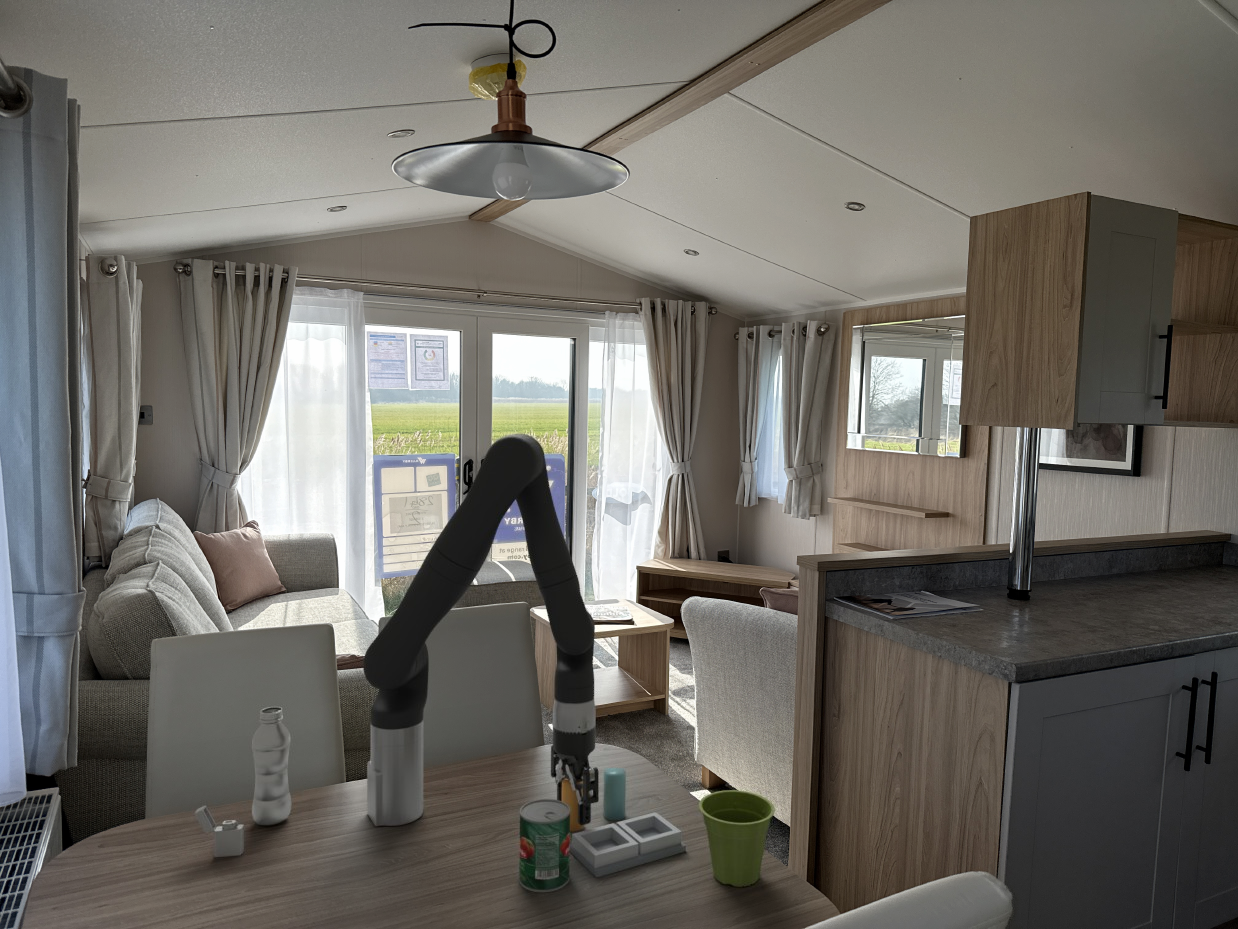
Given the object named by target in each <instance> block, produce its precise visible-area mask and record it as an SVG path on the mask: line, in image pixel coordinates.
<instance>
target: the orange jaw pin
mask: <svg viewBox="0 0 1238 929" xmlns="http://www.w3.org/2000/svg"><path fill="white" fill-rule="evenodd" d="M577 784H579V785H580V784H583V781H582V782H578V783H577ZM581 793H582V796H583V789H582V790H581ZM562 802H564V803H566V804H567V805H568V806H569V807H570V832H580V831H581V830H583V829H584V828H585V825H580V824H579V823H578V799H577V795H576V792H575V791H573V790H572V786H571V782H570V780H569V779H566V778H565V779H563V780H562Z"/></svg>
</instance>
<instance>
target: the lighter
mask: <svg viewBox="0 0 1238 929" xmlns="http://www.w3.org/2000/svg"><path fill="white" fill-rule="evenodd" d="M194 816H195V818H196V819H197V821H198V823H199V825H200V826H201V829H202V831H203V832H204V834H205V835H209V834H211V833H213V832H214V858H220V857H222V858H223V857H234V856H242V855H243V853H244V851H245V846H244V845H245V827H244V826H245V824H239V822H237V821H236V820H235V819H233V820H231V819H230V820H223V822H222V823H221V825H218V826H217V823H216V821H215V819H214V818H213V816H212V814H211V813H210V811H209V808H208V807H207V805H203V806H201V807H199V808H197V809H196V810H195V812H194ZM241 854H242V855H241Z"/></svg>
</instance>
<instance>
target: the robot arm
mask: <svg viewBox="0 0 1238 929" xmlns="http://www.w3.org/2000/svg"><path fill="white" fill-rule="evenodd" d="M515 501H516V503H517V506H518V509H519V513H520V516H521V520H522V524H523V528H524V536H525V542H526V548H527V554H528V558H529V562H530V565H531V568H532V572H533V574H534V577H535V580H536V584H537V586H538V590H539V592H540V594H541V597H542V599H543V601H544V602H543V603H544V605H545V610H546V613H547V614H546V615H547V617H548V619H547V620H548V622H549V627H550V630H551V633H552V636H553V639H554V641H555V642H554V643H555V644H556V649H555V650H556V666H555V667H556V668H555V671H554V688H553V689H554V691H553V693H554V694H553V697H554V699H553V700H554V702H553V708H552V745H551V746H550V777H551V778H555V779H554V783H555V785H556V800H559V801H562V780H563V779H565V778H566V779H569V780H570V782H571V786H572V790H573V791H575V792H576V795H577V799H578V823H579V824H580V825H584V826H585V825H589V824H590V823H591V821H592V804H596V803H599V798H600V797H599V788H600V787H599V783H600V782H599V779H600V778H599V768H598V767H596V766H595V767H591V766H590V763H589V762H590V761H589V755H590V754H591V753H592V752H594V750H595V749H596V716H597V715H596V704H595V702H596V701H595V672H594V652H595V651H594V648H595V636H596V634H595V632H596V630H595V629H596V627H595V626H596V624H595V621H594V617H593V616H592V615H591V613H590V612H589V611H588V610H587V607H586V604H585V602H584V598H583V597H582V594H581V588H580V587H581V586H580V585H581V584H580V581H579V576H578V574H577V570H576V567H575V565H574V561H573V559H572V556H571V553H570V551H569V548H568V544H567V542H566V538H565V537H564V533H563V530H562V527H561V524H560V521H559V518H558V515H557V512H556V507H555V504H554V501H553V496H552V492H551V486H550V480H549V475H548V470H547V463H546V457H545V452H544V449H543V446H542V445H541V443H540V442H539V441H538V440H537V439H536V438H535V437H533V436H530V435H529V434H525V433H512V434H509V435H508V434H507V435H504V436H502V437H500V438H498V439H497V440H495V441H494V442H492V444H491V446H490V447H489V448H488V450H487V452H486V454H485V456H484V458H483V460H482V463H481V465H480V467H479V469H478V471H477V474H476V476H475V478H474V479H473V482H472V484H471V486H470V488H469V490H468V492H467V494H466V496H465V498H464V499H463V501H462V502H461V504H460V505H459V506H458V508H456V510H455V512H454V513H453V514H452V516H451V517H450V519H449V520H448V522H447V523H446V524H445V526H444V528H442V531H441V532H440V534H439V535H438V537H437V538H436V539H435V541H434V543H433V545H432V546H431V548H430V549H429V551H428V553H427V555H426V556H425V558H424V560H423V561H422V563H421V565H420V567H419V569H418V571H417V573H416V574H415V576H414V577H413V580H412V581H411V583H410V585H409V587H408V589H407V590H406V592H405V594H404V596H403V598H402V599H401V602H400V603H399V605H398V607H397V608H396V610H395V611H394V613H393V614H392V615H391V618H389V619H388V621H387V622H386V623H385V625H384V627H383V628H382V629H381V630H380V632H379V633H378V635H377V636H376V637H375V638H374V639H373V641H372V642H371V644H370V645H369V646H368V648H367V649H366V651H365V654H364V658H363V665H362V666H363V674H364V676H365V679H366V680H367V682H368V683H369V685H371V686H372V687H373V688H375V689H378V692H377V696H376V697H375V699H374V701H373V703H372V705H371V708H370V720H369V721H370V759H369V761H367V764H366V765H367V769H366V770H367V772H366V774H367V775H366V776H367V777H366V780H367V781H366V782H367V785H366V787H367V790H366V791H367V792H366V793H367V794H366V795H367V796H366V798H367V799H366V800H367V801H366V802H367V803H366V806H367V807H366V811H367V812H366V813H367V815H368V817H369V819H370V820H371V822H372V823H373V825H374V826H375V827H380V826H387V827H388V826H389V827H390V826H391V827H392V826H396V827H397V826H402V825H407V824H409V823H412V822H414V821H417V820H418V819H419V818H420V817H421V816H422V815H423V813H424V710H425V707H426V704H427V699H428V690H429V669H430V668H429V664H430V663H429V662H430V660H429V658H430V655H429V650H428V647H427V643H426V641H427V640H428V639H429V637H430V635H431V634H432V632H433V631H434V629H435V628H436V627H437V626H438V624H440V622H441V621H442V620H443V619H444V617H446V616H447V615H448V613H449V612H451V610H452V609H453V608H454V607H455V605H457V603H458V602H459V601H460V599H462V597H463V596H464V595H465V594H466V592H467V591H468V589H469V588H470V587H471V585H472V584H473V582H474V580H475V579H476V577H477V576H478V575H479V574H478V573H479V572H480V571H481V569H482V568H483V565H484V564H485V561H486V559H487V558H488V556H489V554H490V551H491V548H492V547H493V546H492V545H493V543H494V540H495V537H496V534H497V532H498V529H499V527H500V524H501V522H502V520H503V518H504V516H505V515H506V513H507V512H508V511H509V510H510V508H511V506H512V505H513V503H514V502H515ZM557 765H558V766H557ZM582 781H583V784H580V785H579V784H577V783H578V782H582ZM582 789H583V796H582V793H581V790H582Z"/></svg>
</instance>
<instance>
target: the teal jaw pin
mask: <svg viewBox="0 0 1238 929" xmlns="http://www.w3.org/2000/svg"><path fill="white" fill-rule="evenodd" d="M626 779H627V772H626V770H625V769H623V768H621V767H608V768H606V769H605V770H604V771H603V805H602V806H603V808H602V809H603V811H602V812H603V813H602V814H603V815H602V816H603V817H604V819H606V820H608V821H622V820H623V819H624V818H625V817H626V793H627V792H626V791H627V790H626V788H627V787H626V785H627V784H626V783H627V780H626Z"/></svg>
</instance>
